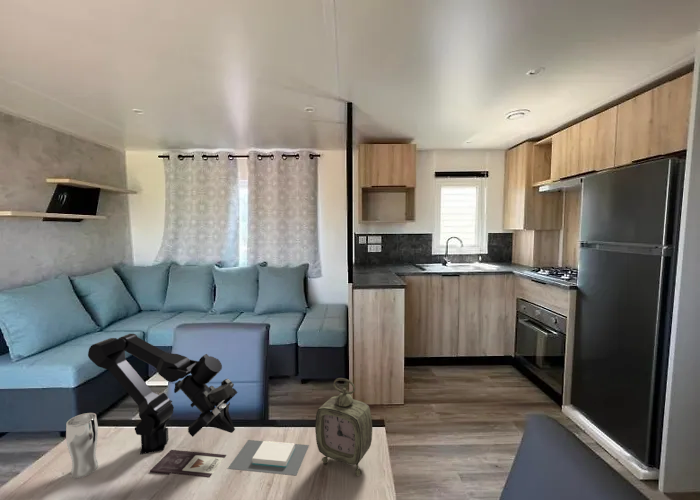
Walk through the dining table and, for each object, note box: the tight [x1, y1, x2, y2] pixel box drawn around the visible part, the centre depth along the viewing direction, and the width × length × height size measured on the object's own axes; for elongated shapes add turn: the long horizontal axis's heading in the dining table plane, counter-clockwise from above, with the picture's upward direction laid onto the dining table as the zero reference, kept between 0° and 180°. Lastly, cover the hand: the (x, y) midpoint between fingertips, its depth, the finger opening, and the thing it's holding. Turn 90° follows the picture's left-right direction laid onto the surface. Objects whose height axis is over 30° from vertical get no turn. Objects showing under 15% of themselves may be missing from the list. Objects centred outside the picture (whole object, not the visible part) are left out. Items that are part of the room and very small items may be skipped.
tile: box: [252, 440, 296, 468], centre depth 99 cm, size 2×8×10 cm
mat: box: [227, 439, 310, 476], centre depth 99 cm, size 20×13×1 cm, turn 81°
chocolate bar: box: [149, 449, 227, 478], centre depth 97 cm, size 9×1×18 cm
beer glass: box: [65, 412, 99, 479], centre depth 94 cm, size 7×7×15 cm
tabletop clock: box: [314, 377, 373, 477], centre depth 96 cm, size 14×9×25 cm, turn 62°
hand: (233, 431), depth 100 cm, fingers closed
